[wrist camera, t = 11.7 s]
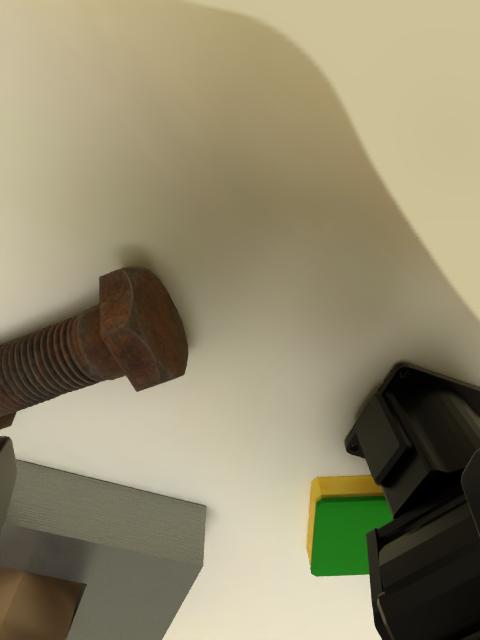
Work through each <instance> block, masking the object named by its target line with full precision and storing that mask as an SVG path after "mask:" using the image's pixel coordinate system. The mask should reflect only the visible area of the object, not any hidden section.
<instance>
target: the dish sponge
mask: <svg viewBox="0 0 480 640" xmlns="http://www.w3.org/2000/svg"><path fill="white" fill-rule="evenodd" d="M392 520H394V519H393V516H392V514H391V511H390V509H389V506H388V503H387V501H386V498H385V496H384V493H383V491H382V488H381V486H379V485H376V484H375V482H374V480H373V477H372V475H369V476H342V477H317V478H316V479H314V480H313V481H312V483H311V497H310V510H309V524H308V538H307V551H308V557H309V563H310V565H311V574H313V575H315V576H341V575H365V574H369V562H368V551H367V539H366V533H368V532H369V531H371V530H373V529H374V528H377V529H379V528H380V527H382V526H384V525H386V524H387V523H389V522H391V521H392Z"/></svg>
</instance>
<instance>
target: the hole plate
mask: <svg viewBox="0 0 480 640" xmlns="http://www.w3.org/2000/svg"><path fill="white" fill-rule="evenodd" d="M16 465H17V478H16V482H15V486H14V490H13V493H12V497H11V500H10V504H9V507H8V511H7V515H6V518H5V522H4V525H3V529H2V532H1V536H0V567H4V568H9V569H14V570H19V571H24V572H29V573H34V574H39V575H44V576H49V577H54V578H59V579H64V580H69V581H74V582H79V583H82V587H81V590H80V593H79V597H78V600H77V603H76V607H75V610H74V614H73V617H72V620H71V624H70V627H69V630H68V634H67V637H66V640H162V639H163V637H164V635H165V633H166V631H167V630H168V628H169V626H170V624H171V623H172V621H173V619H174V617H175V615H176V614H177V612H178V610H179V608H180V606H181V605H182V603H183V601H184V599H185V598H186V596H187V594H188V592H189V590H190V589H191V587H192V585H193V583H194V581H195V580H196V578H197V576H198V574H199V572H200V571H201V569H202V567H203V557H204V537H205V518H206V506H202V505H198V504H194V503H190V502H186V501H182V500H178V499H174V498H170V497H166V496H162V495H157V494H153V493H149V492H145V491H141V490H137V489H133V488H129V487H125V486H121V485H117V484H113V483H109V482H104V481H100V480H96V479H92V478H88V477H84V476H80V475H76V474H72V473H68V472H64V471H60V470H56V469H51V468H47V467H43V466H39V465H35V464H31V463H27V462H23V461H19V460H16Z"/></svg>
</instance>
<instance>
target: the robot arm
mask: <svg viewBox="0 0 480 640" xmlns="http://www.w3.org/2000/svg"><path fill="white" fill-rule="evenodd" d="M402 371H406V372H405V373H404V374H400V373H401V372H402ZM344 444H345V448H346V451H347V452H348V453H349V454H352V455H355V456H359V457H362V458H366V461H367V464H368V466H369V469H370V472H371V474H372V477H373V480H374V482H375V484H376V485H379V486H381V488H382V491H383V493H384V496H385V498H386V501H387V503H388V506H389V509H390V511H391V514H392V516H393V519H394V520H392V521H391V522H389V523H387V524H386V525H384V526H382V527H380V528H379V529H377V528H374V529H373V530H371V531H369V532H368V533H366V539H367V551H368V562H369V574H370V586H371V598H372V607H373V615H374V623H375V627H376V629H377V631H378V633H379V635H380V636H381V638H382V640H480V388H478V387H475V386H472V385H470V384H467V383H464V382H461V381H458V380H455V379H452V378H449V377H446V376H443V375H440V374H438V373H435V372H432V371H429V370H426V369H423V368H420V367H417V366H414V365H411V364H408V363H404V362H403V363H399V364H397V365H396V366H395V367H394V368H393V369H392V371H391V372H390V374H389V376H388V377H387V379H386V380H385V382H384V383H383V385H382V386H381V388H380V389H379V391H378V392H377V393H376V394H375V395H374V396H373V398H372V399H371V401H370V402H369V404H368V405H367V407H366V408H365V410H364V411H363V413H362V414H361V416H360V418H359V419H358V421H357V422H356V424H355V425H354V429H353V430H352V432H351V433H350V435H349V436H348V438H347V439H346V441H345V443H344ZM352 445H355V446H352ZM16 478H17V465H16V459H15V454H14V449H13V444H12V440H11V439H10V438H9V437H7V436H0V536H1V532H2V529H3V525H4V522H5V518H6V515H7V511H8V507H9V504H10V500H11V497H12V493H13V490H14V486H15V482H16Z"/></svg>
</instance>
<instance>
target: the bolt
mask: <svg viewBox="0 0 480 640" xmlns="http://www.w3.org/2000/svg"><path fill="white" fill-rule="evenodd" d="M99 289H100V305H98V306H95V307H93V308H90V309H88V310H86V311H84V312H83V313H82V314H81V315H79V316H75V317H73V318H70V319H67V320H65V321H62V322H60V323H58V324H56V325H54V326H49V327H48V328H44V329H42V330H39V331H37V332H35V333H31V334H29V335H26V336H24V337H22V338H18V339H17V340H13V341H11V342H8V343H6V344H4V345H0V429H3V428H6V427H9V426H11V425H12V422H13V420H14V417H15V415H16V412H17V411H19V410H21V409H25V408H27V407H31V406H33V405H37V404H39V403H42V402H44V401H48V400H50V399H53V398H55V397H58V396H60V395H62V394H65V393H67V392H72V391H75V390H78V389H80V388H81V389H82V388H84V387H87V386H91V385H93V384H96V383H99V382H101V381H105V380H114V379H117V378H120V377H123V376H127V378H128V379H129V381H130V382H131V384H132V385H133V387H134V389H135V390H136V391H137V392H138V391H141V390H144V389H147V388H150V387H153V386H155V385H158V384H161V383H164V382H167V381H170V380H173V379H175V378H178V377H180V376H183V375H184V374H185V370H186V366H187V359H188V345H187V340H186V337H185V333H184V330H183V326H182V322H181V320H180V317H179V314H178V311H177V309H176V307H175V305H174V304H173V302H172V300H171V298H170V295H169V294H168V292H167V290H166V289H165V287H164V286H163V285H162V283H161V282H160V281H159V279H158V278H157V277H156V276H155V275H154V274H153V273H152V272H151V271H150V270H148V269H146V268H140V267H129V268H121V269H118V270H116V271H113V272H111V273H108V274H106V275H103V276H100V277H99Z"/></svg>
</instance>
